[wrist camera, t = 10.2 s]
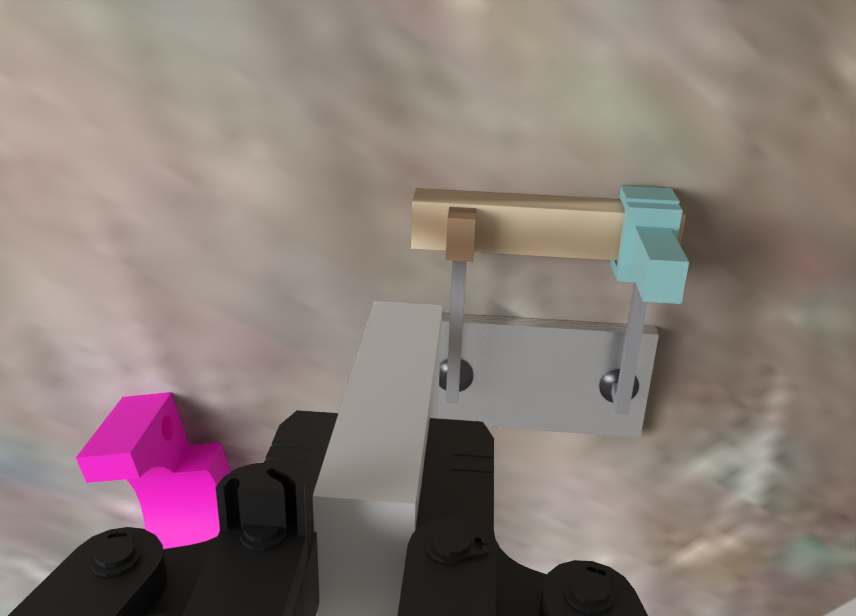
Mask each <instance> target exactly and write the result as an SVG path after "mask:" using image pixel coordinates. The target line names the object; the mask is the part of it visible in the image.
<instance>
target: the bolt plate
mask: <svg viewBox="0 0 856 616" xmlns="http://www.w3.org/2000/svg"><path fill="white" fill-rule="evenodd" d="M449 326H450V313H442V326H441V349H440V371H439V393H438V413H437V418H439V419H454V420H468V421H483V422H484V424H485V425H486V427H498V428H512V429H526V430H541V431H555V432H569V433H583V434H598V435H612V436H626V437H641V431H642V426H643V420H644V415H645V409H646V404H647V398H648V393H649V387H650V381H651V376H652V370H653V365H654V359H655V354H656V348H657V343H658V337H659V334H658V331H657V329H656V326H643V332H642V337H641V343H640V349H639V355H638V361H637V367H636V373H635V379H634V385H633V391H632V396H631V402H630V408H629V414H628V415H621V414H616V413H615V409H614V403H613V399H612V394H611V390H612V384H613V383H618V379H619V373H620V367H621V361H622V354H623V348H624V342H625V336H626V329H627V324H612V323H596V322H580V321H564V320H548V319H532V318H516V317H500V316H484V315H468V314H463V329H462V346H461V363H460V384H459V398H458V403H446V387H447V366H448V346H449Z"/></svg>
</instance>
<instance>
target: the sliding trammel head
mask: <svg viewBox="0 0 856 616" xmlns="http://www.w3.org/2000/svg"><path fill="white" fill-rule="evenodd" d="M619 197H620V199H621V202H622V204H623V206H624V209H625V213H624V220H623V227H622V234H621V241H620V247H619V254H618V260H610V264H611V267H612V270H613V273H614V276H615V278H617V281H621V282H634V285H633V292H632V298H631V304H630V310H629V317H628V323H627V329H626V336H625V342H624V348H623V354H622V361H621V367H620V373H619V379H618V383H613V384H612V390H611V394H612V399H613V403H614V409H615V413H616V414H621V415H628V414H629V408H630V402H631V396H632V391H633V385H634V379H635V373H636V367H637V361H638V355H639V349H640V343H641V337H642V332H643V326H644V320H645V314H646V308H647V302H658V303H675V304H681V303H682V298H683V292H684V287H685V282H686V277H687V271H688V266H689V261H688V259H687V257H686V255H685V253H684V252H683V250H682V248H681V246H680V244H679V243H678V241H677V238H678V233H679V227H680V222H681V216H682V211H683V210H682V208H681V207H680V205H679V199H678V198H677V196H676V195H675V193H674V192H673V190H672V188H657V187H638V186H621V189H620V196H619Z"/></svg>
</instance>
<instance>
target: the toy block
mask: <svg viewBox="0 0 856 616" xmlns="http://www.w3.org/2000/svg"><path fill="white" fill-rule="evenodd" d="M76 459H77V461H78V464H79V466H80V469H81V471H82V473H83V476H84V478H85V481H86V483H89V482H101V481H113V480H124V479H126V480H127V481H128V482H129V483H130V484H131V486H132V487H133V489H134V490H135V492H136V495H137V497H138V499H139V502H140V505H141V508H142V512H143V517H144V523H145V530H147V531H149V532H151V533H153V534H155V535H156V536H157V537H158V539H159V540H160V541H161V543H162V544H163V549H167V548H173V547H179V546H185V545H192V544H196V543H200V542H204V541H207V540H209V539H212V538H214V537H217V536H218V534H219V531H220V527H219V517H218V508H217V498H216V489H215V487H216V486H217V484H218V483H219V482H220V481H221V479H222V478H223V477H224V476H225V475H227V474H229V473H230V472H231V471H230V468H229V465H228V462H227V459H226V456H225V453H224V450H223V446H222V443H221V442H220V443H209V444H198V445H189V443H188V440H187V437H186V434H185V431H184V428H183V425H182V422H181V420H180V417H179V414H178V411H177V408H176V405H175V402H174V399H173V396H172V393H171V392H168V393H158V394H148V395H138V396H128V397H122V399H121V400H120V401H119V402H118V404H117V405H116V406H115V408H114V409H113V410H112V412H111V413H110V414H109V415H108V417H107V418H106V419H105V421H104V422H103V423H102V425H101V426H100V427H99V428H98V430H97V431H96V432H95V434H94V435H93V436H92V438H91V439H90V440H89V441H88V443H87V444H86V445H85V447H84V448H83V449H82V451H81V452H80V453H79V454H78V456H77V457H76Z"/></svg>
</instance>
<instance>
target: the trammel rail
mask: <svg viewBox="0 0 856 616" xmlns="http://www.w3.org/2000/svg"><path fill="white" fill-rule="evenodd" d="M624 213H625V209H624V206H623V204H622V202H621V200H620V199H602V198H583V197H565V196H547V195H528V194H510V193H491V192H473V191H454V190H436V189H418V188H416V191H415V194H414V198H413V201H412V238H411V248H414V249H431V250H446V260H452V261H453V265H452V286H451V306H450V326H449V346H448V366H447V387H446V403H458V398H459V384H460V363H461V346H462V329H463V311H464V294H465V277H466V261H469V262H473V254H474V252H482V253H500V254H517V255H534V256H551V257H568V258H585V259H602V260H618V254H619V247H620V241H621V234H622V227H623V220H624ZM685 220H686V215H685V214H684V212H683V211H682V216H681V222H680V227H679V233H678V238H677V241H678V243H679V244H680V246H681V242H682V236H683V231H684V225H685Z"/></svg>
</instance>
